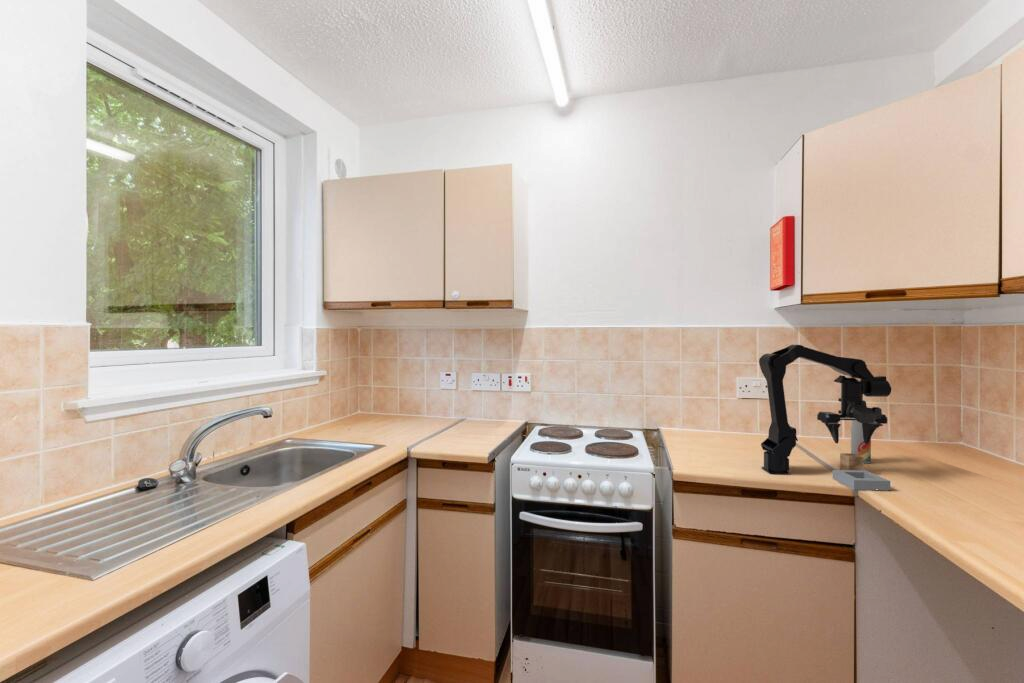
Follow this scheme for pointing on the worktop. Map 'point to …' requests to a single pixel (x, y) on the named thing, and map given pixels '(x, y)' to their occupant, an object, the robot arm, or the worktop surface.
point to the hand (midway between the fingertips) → (851, 443)
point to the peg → (851, 462)
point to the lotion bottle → (859, 442)
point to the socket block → (861, 480)
